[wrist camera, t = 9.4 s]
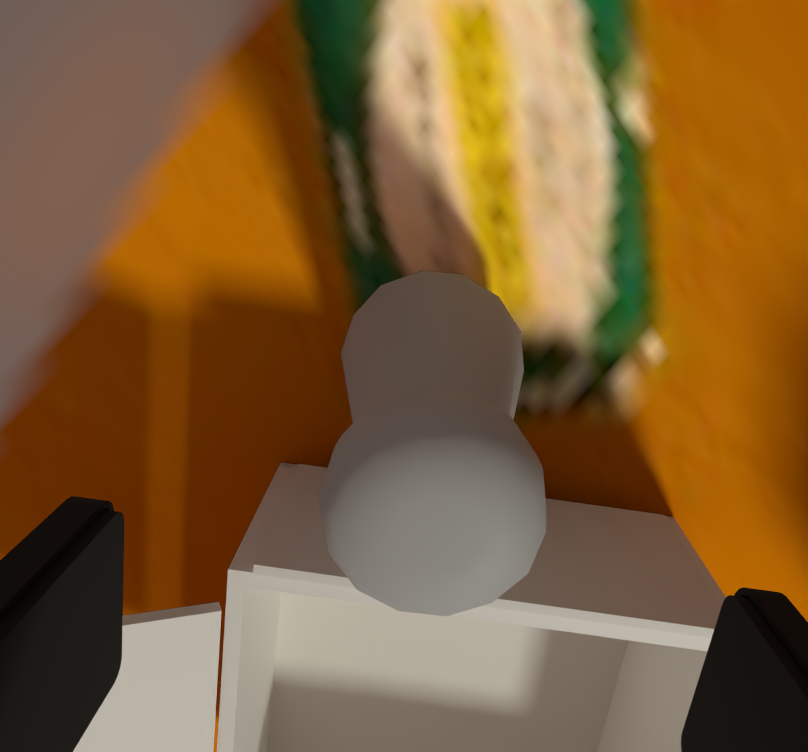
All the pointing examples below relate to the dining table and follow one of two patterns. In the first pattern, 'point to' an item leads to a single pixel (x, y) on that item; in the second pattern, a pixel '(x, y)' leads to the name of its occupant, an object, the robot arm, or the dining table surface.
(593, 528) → the carton
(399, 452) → the salt shaker
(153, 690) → the flap
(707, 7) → the dining table surface
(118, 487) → the dining table surface
